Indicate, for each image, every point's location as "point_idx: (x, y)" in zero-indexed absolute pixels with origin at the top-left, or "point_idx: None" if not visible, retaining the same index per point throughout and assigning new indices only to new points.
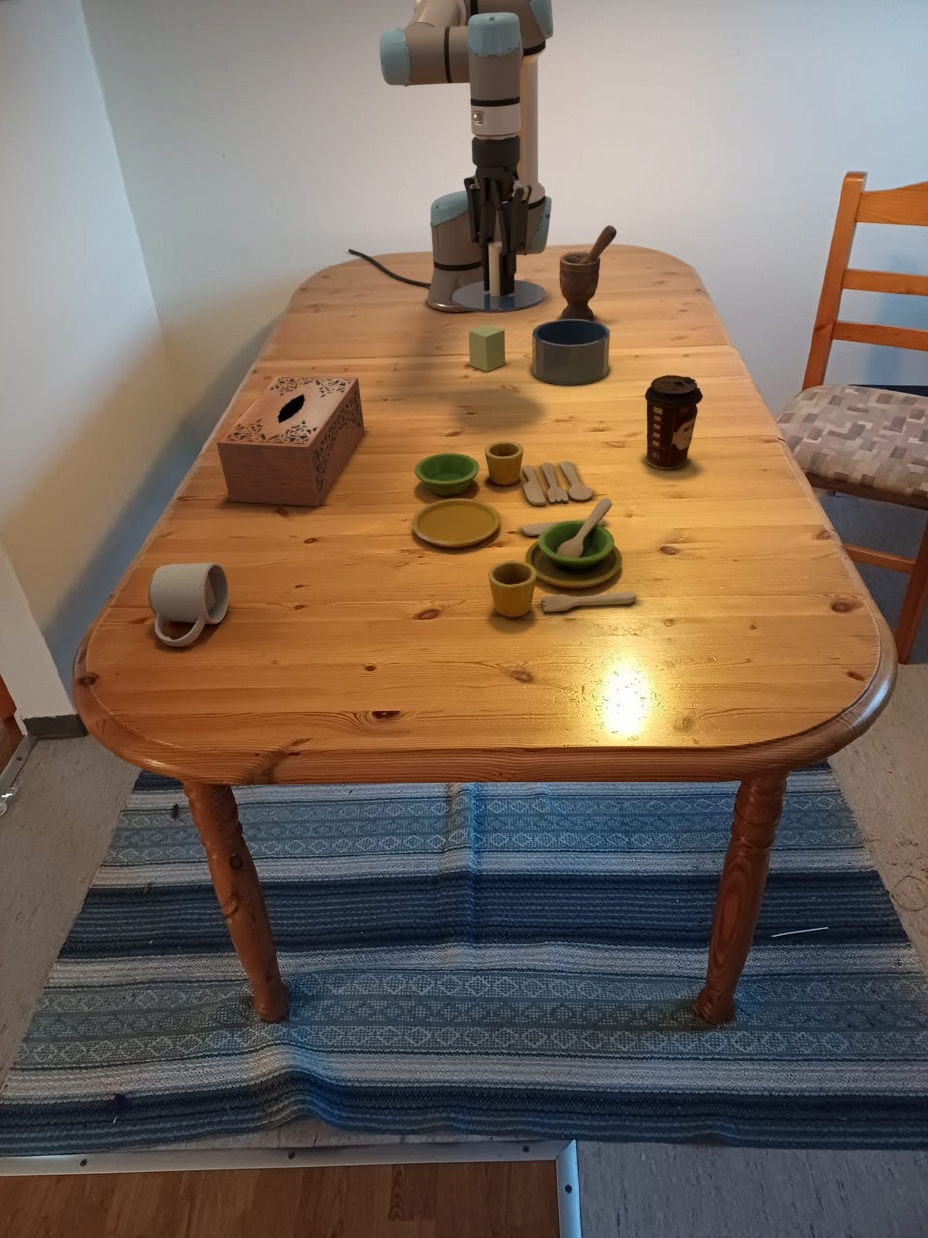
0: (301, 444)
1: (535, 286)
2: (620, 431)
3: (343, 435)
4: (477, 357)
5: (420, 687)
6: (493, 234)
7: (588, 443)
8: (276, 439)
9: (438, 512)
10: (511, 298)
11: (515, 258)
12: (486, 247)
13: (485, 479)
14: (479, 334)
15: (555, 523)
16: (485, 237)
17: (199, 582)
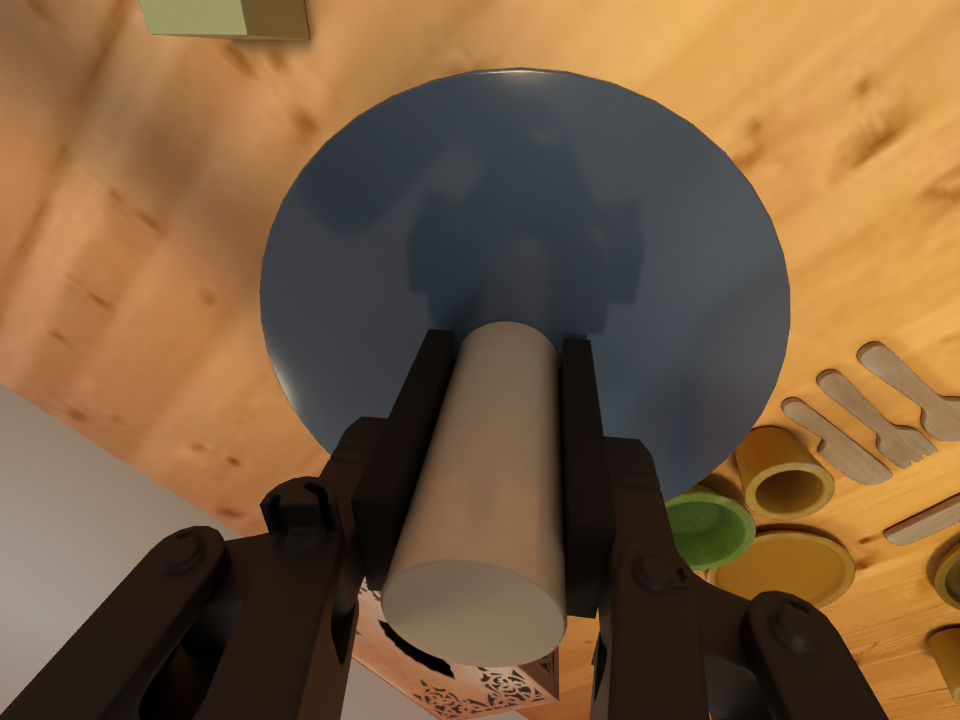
0: (543, 700)
1: (601, 127)
2: (954, 99)
3: None
4: (248, 38)
5: (900, 717)
6: (323, 632)
7: (877, 227)
8: (500, 702)
9: (729, 563)
10: (615, 384)
11: (667, 534)
12: (360, 578)
13: (728, 461)
14: (210, 33)
15: (945, 514)
16: (341, 682)
17: None
